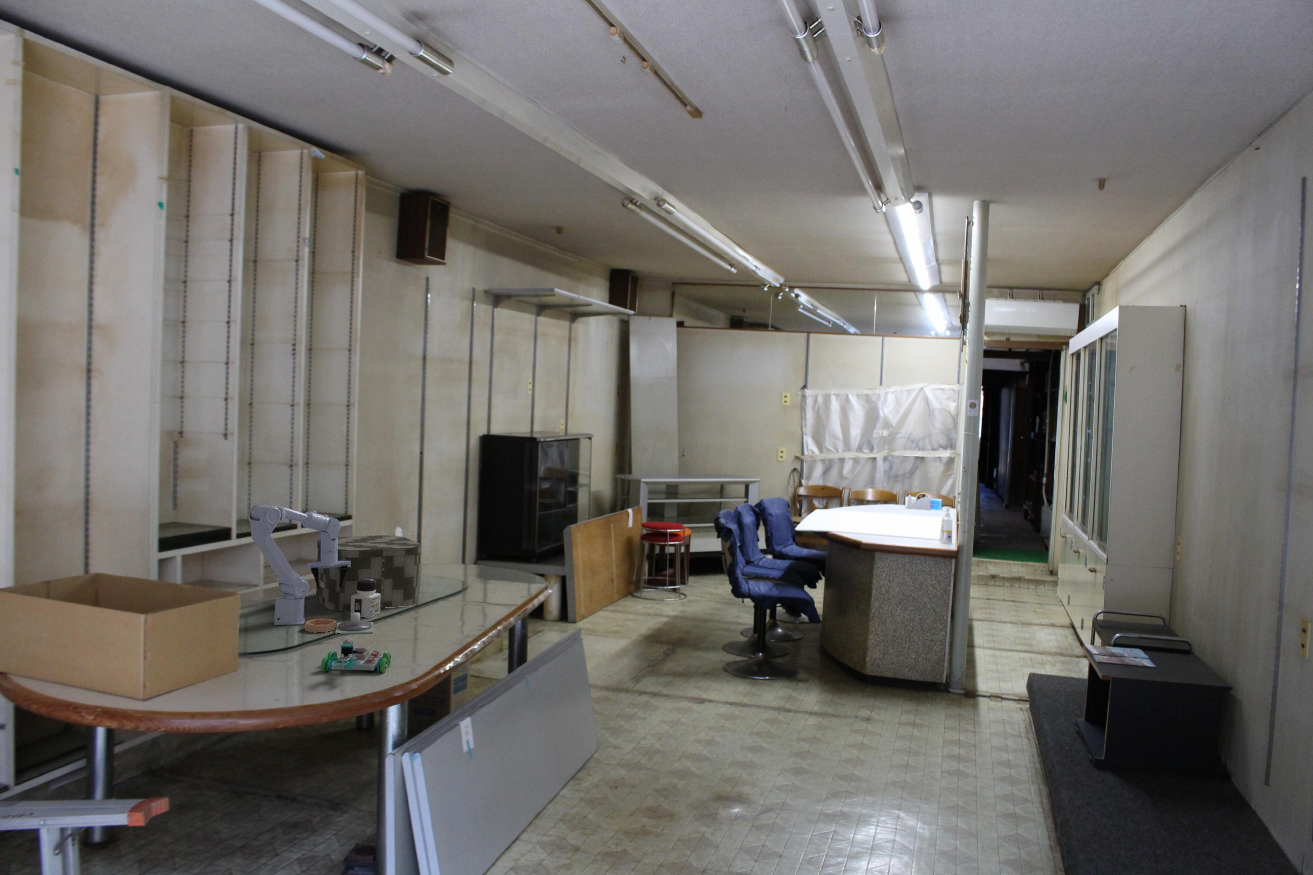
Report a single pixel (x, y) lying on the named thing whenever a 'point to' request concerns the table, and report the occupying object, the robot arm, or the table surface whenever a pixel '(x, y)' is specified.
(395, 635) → the table surface
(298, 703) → the table surface
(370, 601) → the container
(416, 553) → the storage box
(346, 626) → the lid
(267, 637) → the table surface
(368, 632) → the mat
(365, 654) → the robot kit
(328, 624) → the bowl
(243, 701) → the table surface
